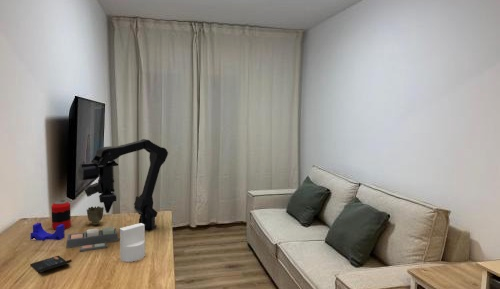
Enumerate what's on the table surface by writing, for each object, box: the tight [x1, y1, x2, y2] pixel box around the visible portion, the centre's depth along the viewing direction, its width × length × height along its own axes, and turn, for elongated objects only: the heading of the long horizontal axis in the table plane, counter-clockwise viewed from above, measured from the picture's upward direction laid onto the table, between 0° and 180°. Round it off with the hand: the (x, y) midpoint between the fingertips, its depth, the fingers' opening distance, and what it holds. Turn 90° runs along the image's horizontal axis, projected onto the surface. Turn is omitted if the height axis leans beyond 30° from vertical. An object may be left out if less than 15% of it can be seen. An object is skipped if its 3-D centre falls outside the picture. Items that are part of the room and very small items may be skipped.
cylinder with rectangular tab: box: [119, 222, 146, 263], centre depth 127 cm, size 9×9×12 cm
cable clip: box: [29, 222, 65, 242], centre depth 141 cm, size 12×4×6 cm, turn 86°
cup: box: [86, 205, 105, 226], centre depth 159 cm, size 8×7×8 cm
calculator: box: [29, 255, 72, 274], centre depth 118 cm, size 9×12×3 cm
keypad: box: [65, 228, 120, 249], centre depth 140 cm, size 20×8×3 cm, turn 117°
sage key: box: [101, 226, 115, 235], centre depth 143 cm, size 4×4×2 cm
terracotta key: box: [71, 233, 83, 239], centre depth 137 cm, size 4×4×2 cm
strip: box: [79, 242, 108, 253], centre depth 133 cm, size 10×3×1 cm, turn 117°
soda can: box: [50, 200, 72, 231], centre depth 154 cm, size 8×8×12 cm
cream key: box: [86, 228, 99, 237], centre depth 140 cm, size 4×4×2 cm
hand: (107, 212), depth 142 cm, fingers closed
